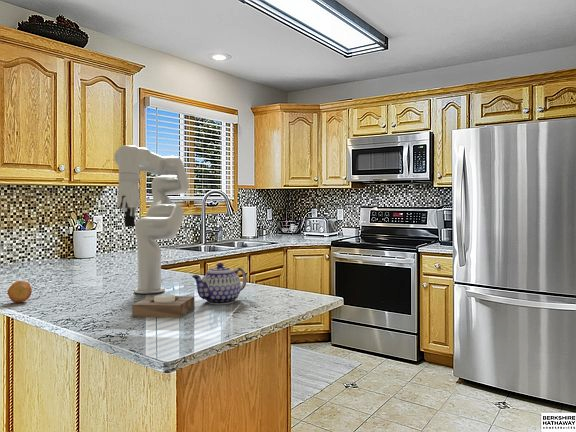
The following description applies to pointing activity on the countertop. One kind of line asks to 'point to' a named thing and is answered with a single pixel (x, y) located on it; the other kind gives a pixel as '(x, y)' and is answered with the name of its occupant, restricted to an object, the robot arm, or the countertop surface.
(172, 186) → the robot arm
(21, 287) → the fruit
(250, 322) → the countertop surface
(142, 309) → the housing
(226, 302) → the teapot
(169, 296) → the button
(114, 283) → the countertop surface
